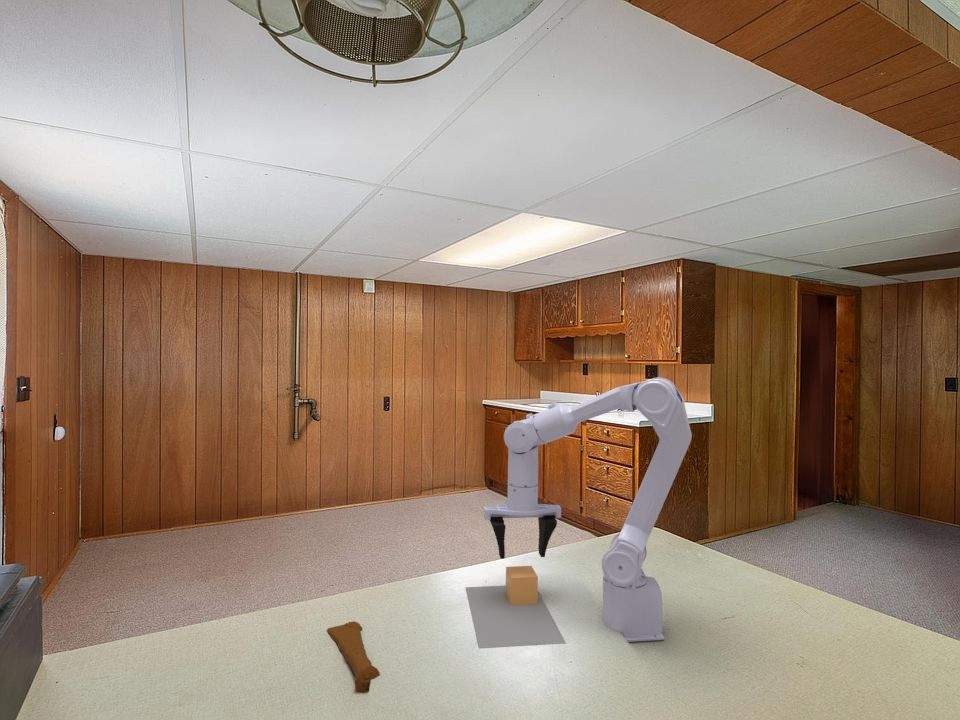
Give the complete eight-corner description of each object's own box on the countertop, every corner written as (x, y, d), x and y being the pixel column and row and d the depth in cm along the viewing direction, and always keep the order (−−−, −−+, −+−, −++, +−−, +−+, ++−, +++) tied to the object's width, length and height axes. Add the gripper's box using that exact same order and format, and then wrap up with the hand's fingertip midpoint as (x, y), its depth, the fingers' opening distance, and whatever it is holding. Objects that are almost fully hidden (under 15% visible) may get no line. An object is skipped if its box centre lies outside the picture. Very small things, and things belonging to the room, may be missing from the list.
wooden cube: (530, 591, 98) (531, 565, 98) (537, 603, 93) (537, 576, 93) (505, 592, 97) (506, 566, 97) (510, 605, 93) (511, 577, 93)
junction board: (534, 591, 101) (535, 569, 101) (565, 652, 80) (566, 624, 80) (465, 594, 100) (465, 572, 99) (478, 657, 79) (479, 628, 79)
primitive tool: (326, 631, 86) (326, 610, 86) (357, 624, 89) (358, 604, 89) (355, 699, 69) (356, 674, 69) (393, 688, 72) (394, 663, 72)
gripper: (554, 478, 100) (553, 546, 100) (481, 479, 98) (480, 549, 98) (564, 487, 93) (563, 560, 93) (487, 488, 91) (486, 563, 91)
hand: (521, 555), depth 95 cm, fingers open, 7 cm apart
